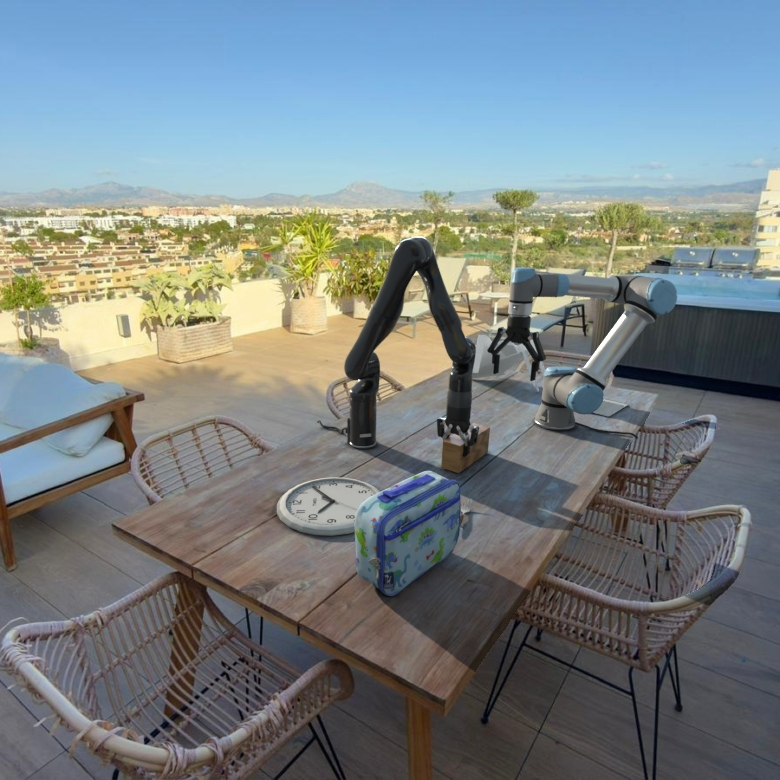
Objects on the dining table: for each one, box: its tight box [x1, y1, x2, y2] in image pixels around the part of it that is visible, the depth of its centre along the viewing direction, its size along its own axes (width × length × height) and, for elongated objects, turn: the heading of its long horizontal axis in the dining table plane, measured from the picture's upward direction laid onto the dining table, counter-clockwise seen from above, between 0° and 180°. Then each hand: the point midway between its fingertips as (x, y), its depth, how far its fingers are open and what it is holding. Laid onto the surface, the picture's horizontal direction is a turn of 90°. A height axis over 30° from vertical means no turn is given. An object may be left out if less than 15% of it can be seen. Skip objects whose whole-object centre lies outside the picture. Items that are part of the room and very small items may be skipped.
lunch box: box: [354, 470, 462, 597], centre depth 113 cm, size 26×11×21 cm, turn 134°
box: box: [440, 422, 491, 474], centre depth 170 cm, size 20×6×9 cm, turn 143°
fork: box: [460, 497, 473, 526], centre depth 137 cm, size 3×16×2 cm, turn 160°
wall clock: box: [276, 476, 382, 537], centre depth 142 cm, size 30×2×30 cm
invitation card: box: [591, 398, 629, 418], centre depth 226 cm, size 21×1×15 cm
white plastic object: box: [472, 334, 546, 392], centre depth 256 cm, size 37×45×31 cm
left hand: (455, 452), depth 165 cm, fingers closed on box, 6 cm apart
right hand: (513, 376), depth 180 cm, fingers open, 13 cm apart
